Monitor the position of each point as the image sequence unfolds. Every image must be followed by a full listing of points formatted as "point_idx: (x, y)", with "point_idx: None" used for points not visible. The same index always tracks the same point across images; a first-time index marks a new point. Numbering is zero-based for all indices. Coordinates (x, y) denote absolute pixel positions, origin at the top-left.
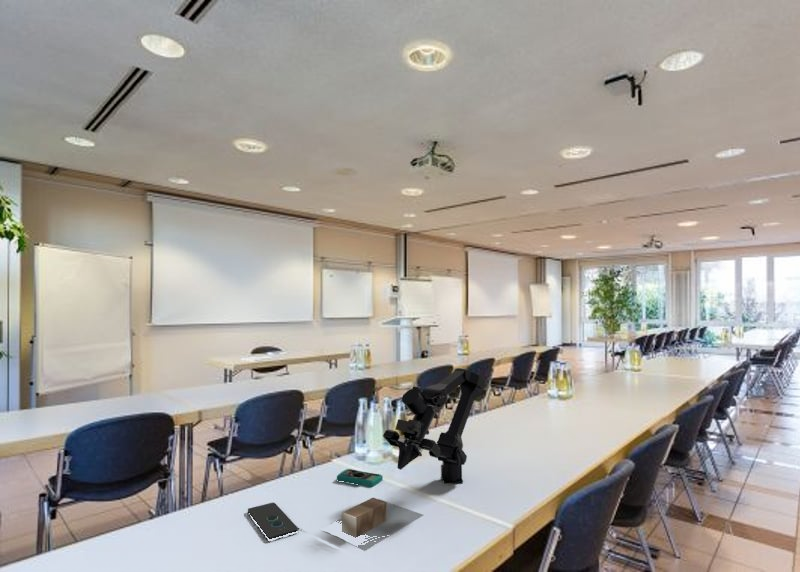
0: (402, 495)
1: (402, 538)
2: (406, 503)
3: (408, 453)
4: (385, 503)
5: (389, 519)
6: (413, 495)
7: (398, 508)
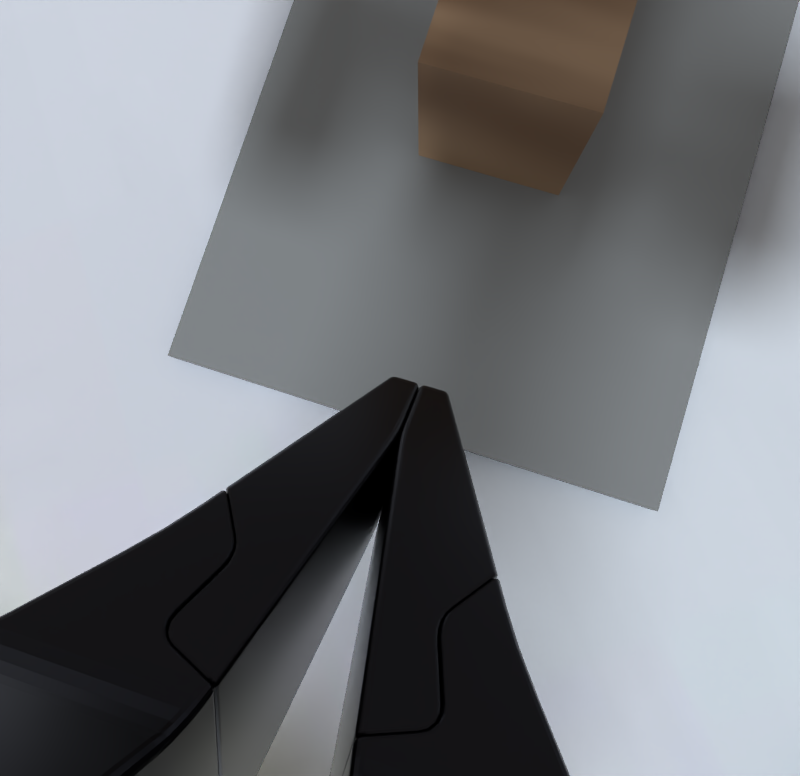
0: None
1: (223, 3)
2: None
3: (80, 579)
4: (421, 54)
5: (403, 182)
6: None
7: None
